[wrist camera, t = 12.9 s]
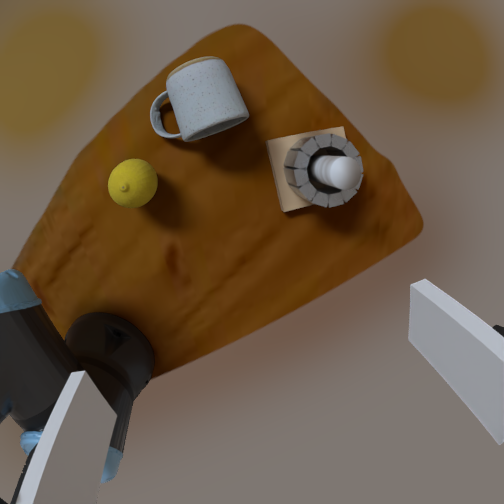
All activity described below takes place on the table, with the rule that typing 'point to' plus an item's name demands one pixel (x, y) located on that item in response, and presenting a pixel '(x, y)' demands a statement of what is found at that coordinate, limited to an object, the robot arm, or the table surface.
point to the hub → (299, 162)
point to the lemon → (133, 183)
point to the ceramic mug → (201, 99)
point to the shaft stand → (312, 168)
